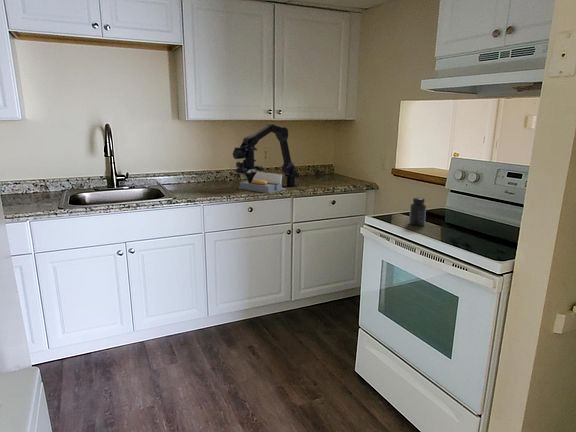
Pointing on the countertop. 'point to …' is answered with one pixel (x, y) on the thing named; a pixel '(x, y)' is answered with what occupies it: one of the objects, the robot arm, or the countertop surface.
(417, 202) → the supplement bottle
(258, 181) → the tan cylindrical rod
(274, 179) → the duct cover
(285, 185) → the robot arm
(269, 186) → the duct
